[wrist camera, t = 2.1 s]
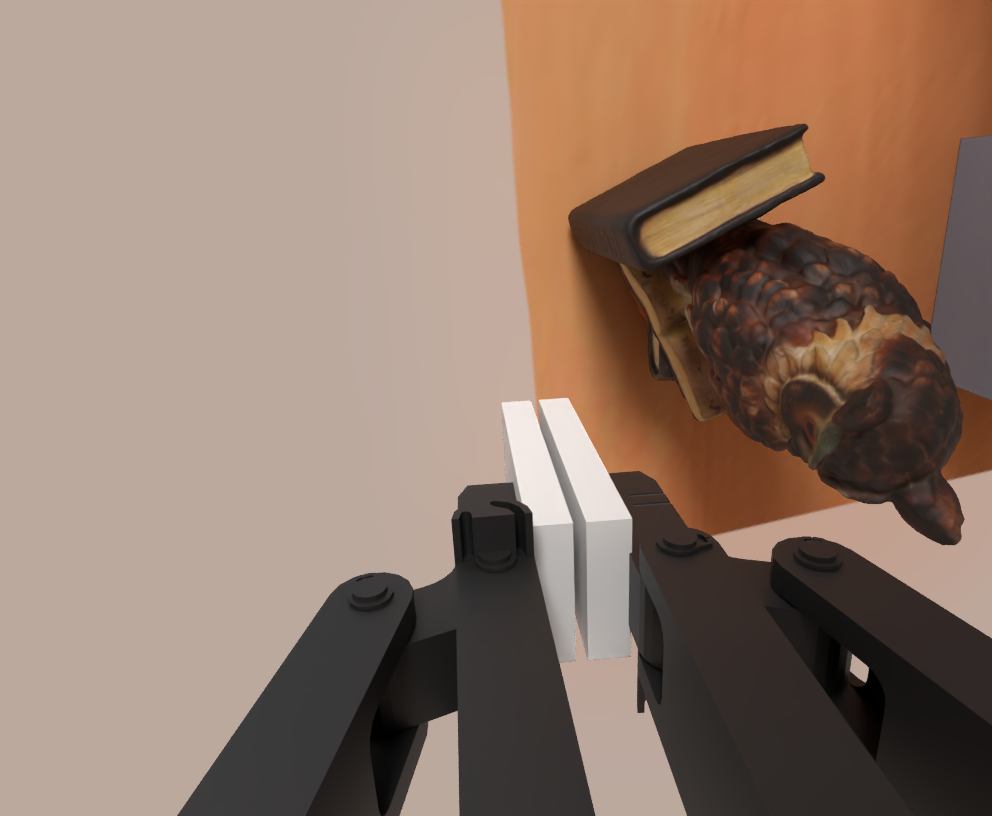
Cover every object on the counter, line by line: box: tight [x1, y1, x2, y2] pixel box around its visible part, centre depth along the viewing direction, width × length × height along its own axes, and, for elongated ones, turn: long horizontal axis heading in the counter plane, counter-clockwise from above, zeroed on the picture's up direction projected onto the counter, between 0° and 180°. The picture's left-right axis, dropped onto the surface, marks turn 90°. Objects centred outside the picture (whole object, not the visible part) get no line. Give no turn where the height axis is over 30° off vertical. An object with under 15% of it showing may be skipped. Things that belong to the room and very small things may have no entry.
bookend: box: [568, 124, 964, 545], centre depth 32 cm, size 15×11×25 cm
